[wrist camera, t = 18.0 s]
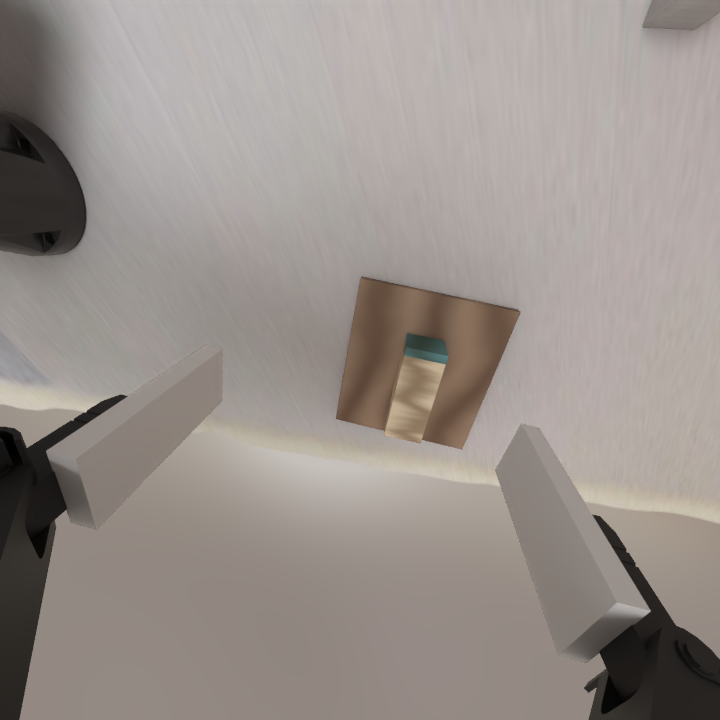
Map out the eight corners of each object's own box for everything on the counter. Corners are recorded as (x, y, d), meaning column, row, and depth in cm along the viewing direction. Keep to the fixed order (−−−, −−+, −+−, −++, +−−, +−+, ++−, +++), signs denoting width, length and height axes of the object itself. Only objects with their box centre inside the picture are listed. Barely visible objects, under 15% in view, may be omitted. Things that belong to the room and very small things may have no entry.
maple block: (419, 421, 42) (444, 340, 36) (420, 443, 38) (448, 356, 32) (386, 413, 42) (407, 332, 37) (384, 434, 38) (406, 347, 33)
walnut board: (337, 414, 45) (335, 418, 44) (361, 276, 36) (360, 278, 35) (461, 444, 44) (462, 449, 43) (517, 309, 35) (520, 312, 34)
